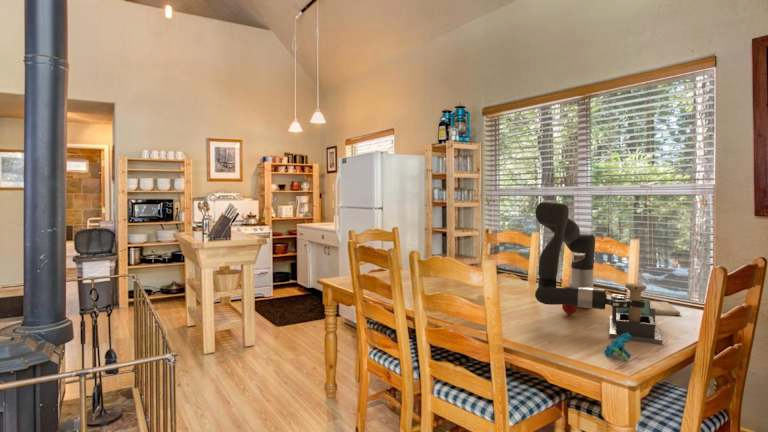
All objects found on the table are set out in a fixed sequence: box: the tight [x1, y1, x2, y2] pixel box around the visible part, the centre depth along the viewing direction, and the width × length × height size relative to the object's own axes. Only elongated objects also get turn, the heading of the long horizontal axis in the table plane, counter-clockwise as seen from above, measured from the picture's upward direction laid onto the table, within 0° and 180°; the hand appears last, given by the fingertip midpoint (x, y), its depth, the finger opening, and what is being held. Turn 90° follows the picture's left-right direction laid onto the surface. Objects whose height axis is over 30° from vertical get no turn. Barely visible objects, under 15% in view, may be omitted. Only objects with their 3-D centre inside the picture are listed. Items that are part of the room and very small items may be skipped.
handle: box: [625, 282, 647, 322], centre depth 164 cm, size 5×6×15 cm
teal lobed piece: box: [603, 333, 632, 363], centre depth 142 cm, size 11×6×10 cm
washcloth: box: [650, 300, 681, 316], centre depth 199 cm, size 12×18×3 cm, turn 165°
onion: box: [561, 304, 578, 316], centre depth 190 cm, size 6×6×8 cm
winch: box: [608, 299, 663, 345], centre depth 170 cm, size 16×28×10 cm, turn 153°
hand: (643, 303), depth 163 cm, fingers closed on handle, 3 cm apart
